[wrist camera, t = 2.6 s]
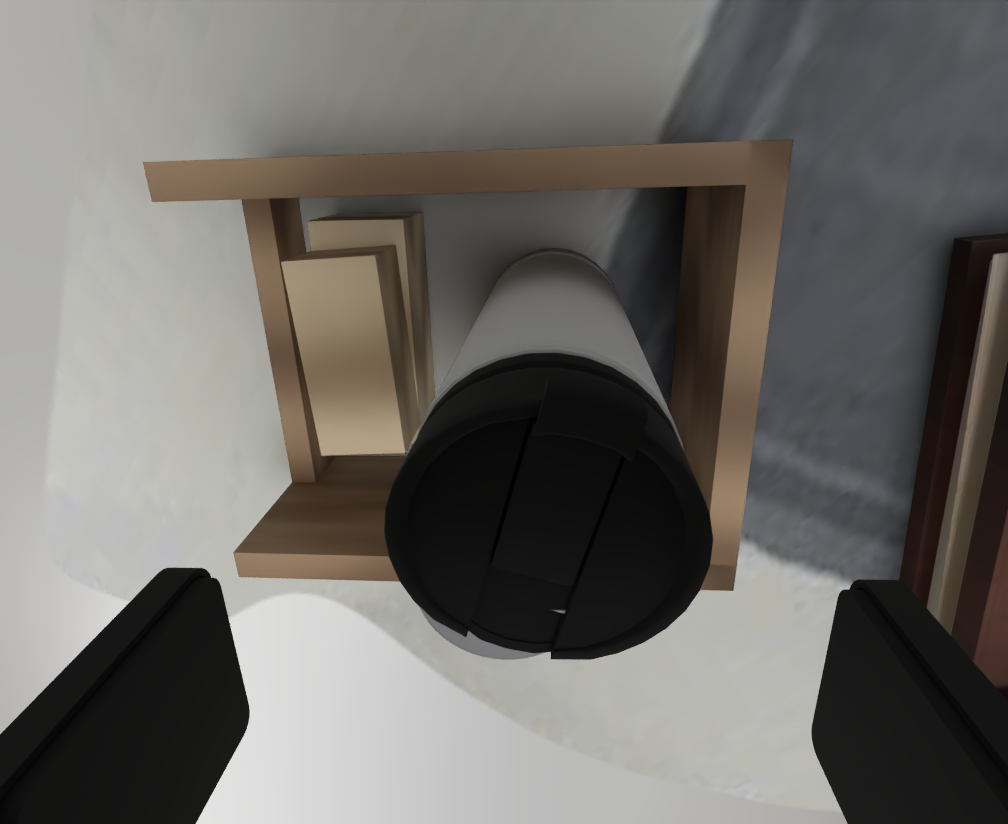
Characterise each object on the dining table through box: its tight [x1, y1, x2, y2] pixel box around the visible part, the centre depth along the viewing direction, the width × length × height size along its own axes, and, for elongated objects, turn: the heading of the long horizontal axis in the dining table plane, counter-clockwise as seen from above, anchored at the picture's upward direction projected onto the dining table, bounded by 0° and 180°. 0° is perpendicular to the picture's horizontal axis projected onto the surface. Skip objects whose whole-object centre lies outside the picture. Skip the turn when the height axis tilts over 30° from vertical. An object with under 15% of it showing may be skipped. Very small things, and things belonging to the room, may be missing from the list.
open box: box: [143, 139, 793, 591], centre depth 26 cm, size 16×20×9 cm
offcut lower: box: [307, 212, 435, 444], centre depth 29 cm, size 10×4×4 cm, turn 1°
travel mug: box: [384, 249, 713, 660], centre depth 20 cm, size 6×7×20 cm
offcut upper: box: [281, 245, 421, 456], centre depth 25 cm, size 8×4×3 cm, turn 5°
